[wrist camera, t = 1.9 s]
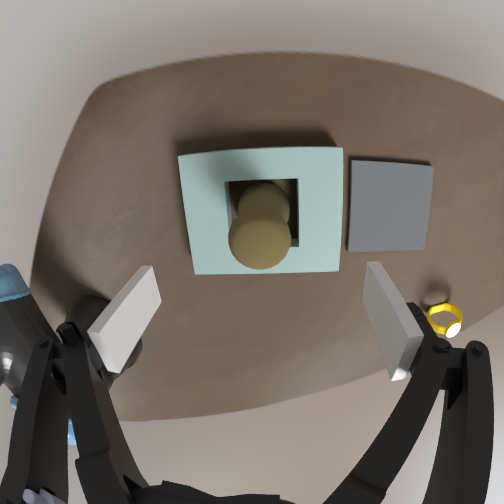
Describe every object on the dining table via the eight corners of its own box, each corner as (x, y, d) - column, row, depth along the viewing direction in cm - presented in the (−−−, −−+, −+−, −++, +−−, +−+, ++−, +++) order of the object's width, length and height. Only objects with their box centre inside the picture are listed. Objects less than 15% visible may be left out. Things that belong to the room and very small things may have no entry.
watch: (451, 295, 34) (470, 316, 29) (448, 309, 35) (466, 330, 30) (422, 305, 35) (440, 329, 29) (420, 319, 36) (437, 343, 31)
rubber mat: (347, 250, 32) (348, 252, 32) (350, 160, 28) (351, 160, 27) (421, 248, 31) (423, 249, 31) (431, 165, 27) (433, 166, 26)
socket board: (200, 264, 35) (195, 274, 33) (185, 154, 29) (177, 156, 27) (334, 261, 33) (338, 271, 31) (337, 146, 27) (342, 147, 25)
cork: (242, 177, 30) (225, 202, 20) (295, 189, 30) (306, 218, 20) (233, 227, 32) (214, 272, 22) (283, 237, 32) (287, 287, 22)
